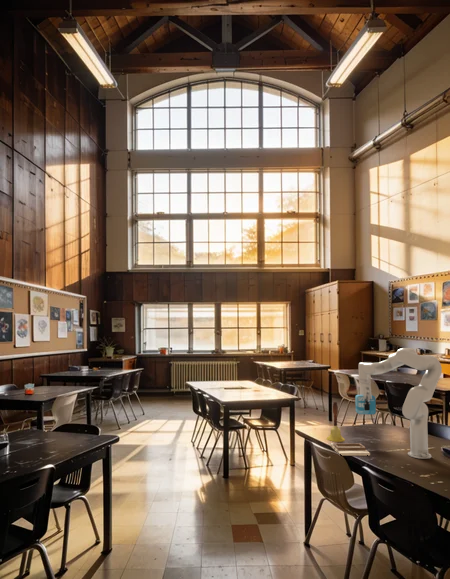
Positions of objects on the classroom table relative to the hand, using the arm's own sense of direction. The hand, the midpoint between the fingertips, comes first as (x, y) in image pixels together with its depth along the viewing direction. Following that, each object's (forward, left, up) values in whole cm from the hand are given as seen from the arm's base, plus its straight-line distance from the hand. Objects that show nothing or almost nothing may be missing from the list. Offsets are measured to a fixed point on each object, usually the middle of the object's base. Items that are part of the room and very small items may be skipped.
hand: (365, 409), depth 287 cm
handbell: (+11, +17, -22) cm, 30 cm away
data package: (0, 0, -3) cm, 3 cm away
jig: (-16, +16, -22) cm, 32 cm away
